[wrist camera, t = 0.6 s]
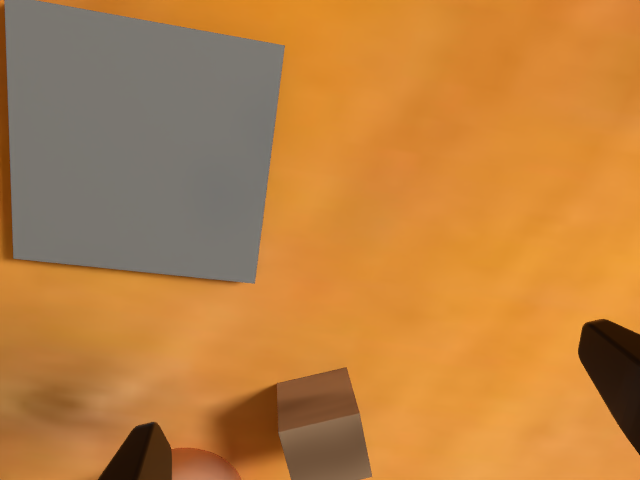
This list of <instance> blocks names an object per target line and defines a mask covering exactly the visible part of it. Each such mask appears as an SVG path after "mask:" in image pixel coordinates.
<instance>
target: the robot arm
mask: <svg viewBox="0 0 640 480" xmlns="http://www.w3.org/2000/svg"><path fill="white" fill-rule="evenodd" d="M578 355H579V358H580V361H581V363H582V364H583V366H584V368H585V369H586V371H587V373H588V375H589V376H590V378H591V380H592V381H593V383H594V385H595V387H596V388H597V390H598V392H599V393H600V395H601V397H602V398H603V400H604V402H605V404H606V405H607V407H608V409H609V410H610V412H611V414H612V416H613V417H614V419H615V420H616V422H617V424H618V425H619V427H620V428H621V430H622V431H623V433H624V434H625V435H626V437H627V438H628V440H629V441H630V442H631V444H632V445H633V447H634V448H635V449H636V451H637V452H638V453H639V455H640V334H638V333H635V332H633V331H631V330H629V329H627V328H624V327H622V326H620V325H618V324H616V323H613V322H611V321H609V320H606V319H599V320H595V321H591V322H587V323H585V324H584V325H583V327H582V332H581V337H580V342H579V348H578ZM98 480H172V451H171V447H170V445H169V443H168V441H167V439H166V437H165V435H164V433H163V432H162V430H161V428H160V426H159V425H158V424H157V423H156V422H150V423H146V424H142V425H138V426H136V427H135V428H134V429H133V430H132V431H131V433H130V434H129V435H128V437H127V438H126V440H125V441H124V443H123V444H122V445H121V447H120V448H119V450H118V451H117V453H116V454H115V456H114V457H113V458H112V460H111V461H110V463H109V464H108V466H107V467H106V469H105V470H104V471H103V473H102V474H101V476H100V477H99V479H98Z"/></svg>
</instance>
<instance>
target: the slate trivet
mask: <svg viewBox="0 0 640 480" xmlns="http://www.w3.org/2000/svg"><path fill="white" fill-rule="evenodd" d="M5 29H6V58H7V87H8V116H9V145H10V173H11V202H12V231H13V259H22V260H32V261H41V262H51V263H61V264H70V265H80V266H90V267H99V268H109V269H119V270H128V271H138V272H148V273H158V274H167V275H177V276H187V277H196V278H206V279H216V280H225V281H235V282H245V283H254V284H255V277H256V269H257V261H258V253H259V245H260V237H261V230H262V222H263V214H264V206H265V198H266V190H267V182H268V174H269V166H270V158H271V150H272V142H273V134H274V127H275V119H276V111H277V103H278V95H279V87H280V79H281V71H282V63H283V55H284V47H285V46H284V45H279V44H273V43H268V42H262V41H256V40H251V39H245V38H240V37H234V36H229V35H223V34H218V33H212V32H207V31H201V30H196V29H190V28H185V27H179V26H174V25H168V24H163V23H157V22H152V21H146V20H141V19H135V18H129V17H124V16H118V15H113V14H107V13H102V12H96V11H91V10H85V9H80V8H74V7H69V6H63V5H58V4H52V3H47V2H41V1H36V0H5Z"/></svg>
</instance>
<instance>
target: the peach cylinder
mask: <svg viewBox="0 0 640 480" xmlns="http://www.w3.org/2000/svg"><path fill="white" fill-rule="evenodd" d="M171 451H172V480H241V477H240V475H239V474H238V472H237V471H236V469H235V468H234V467H233V466H232V465H231V464H230V463H229V462H227V461H226V460H225V459H223V458H222V457H220V456H218V455H216V454H214V453H211V452H208V451H205V450H200V449H194V448H177V449H171Z"/></svg>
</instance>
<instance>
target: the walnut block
mask: <svg viewBox="0 0 640 480" xmlns="http://www.w3.org/2000/svg"><path fill="white" fill-rule="evenodd" d="M277 405H278V433H279V437H280V440H281V444H282V448H283V451H284V455H285V458H286V462H287V466H288V469H289V473H290V477H291V480H360V479H365V478H369V477H372V473H371V468H370V463H369V458H368V453H367V448H366V443H365V438H364V433H363V428H362V423H361V418H360V413H359V409H358V406H357V402H356V399H355V395H354V392H353V388H352V385H351V381H350V378H349V374H348V371H347V367H346V368H341V369H337V370H333V371H328V372H324V373H320V374H315V375H311V376H307V377H302V378H298V379H294V380H289V381H285V382H281V383H277Z"/></svg>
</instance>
